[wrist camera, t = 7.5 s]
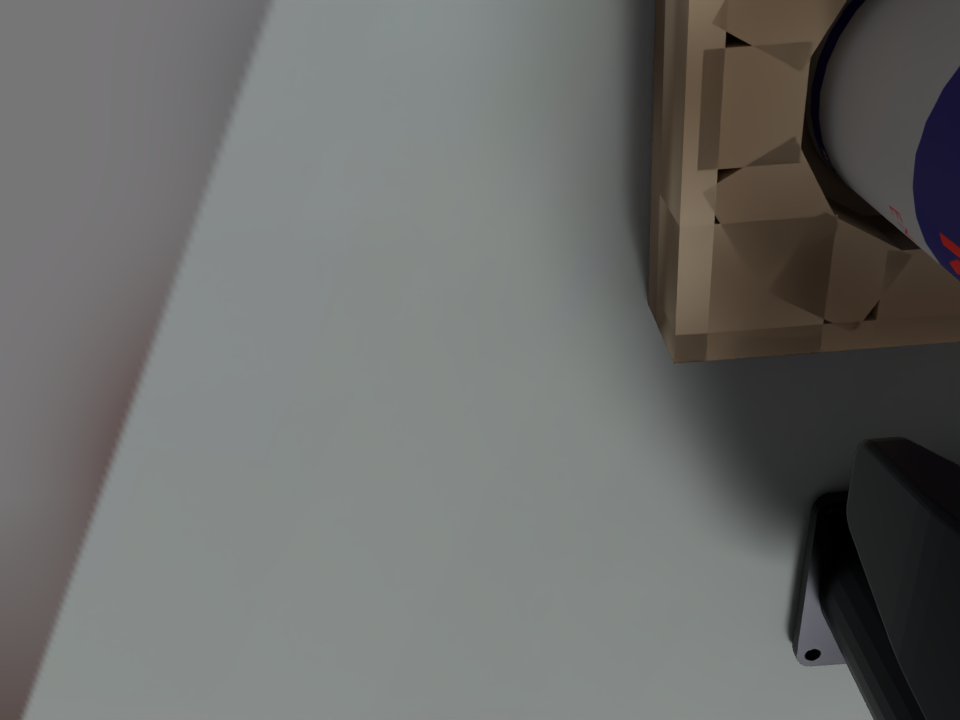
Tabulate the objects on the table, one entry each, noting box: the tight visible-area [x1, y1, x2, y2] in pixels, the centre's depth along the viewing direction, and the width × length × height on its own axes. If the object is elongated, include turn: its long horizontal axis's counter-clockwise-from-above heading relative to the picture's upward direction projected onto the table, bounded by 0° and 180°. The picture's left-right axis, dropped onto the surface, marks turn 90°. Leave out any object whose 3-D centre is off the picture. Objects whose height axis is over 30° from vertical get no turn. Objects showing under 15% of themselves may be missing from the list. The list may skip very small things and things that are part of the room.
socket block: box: [648, 0, 960, 363], centre depth 19 cm, size 11×11×3 cm
